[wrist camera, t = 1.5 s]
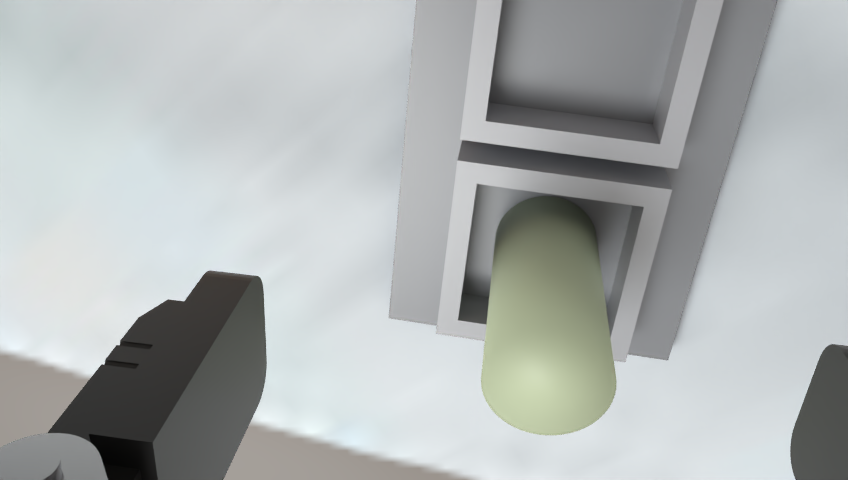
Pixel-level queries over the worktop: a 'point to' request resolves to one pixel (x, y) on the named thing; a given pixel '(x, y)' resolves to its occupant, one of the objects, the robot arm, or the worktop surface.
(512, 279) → the jaw peg olive
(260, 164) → the worktop surface
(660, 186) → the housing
